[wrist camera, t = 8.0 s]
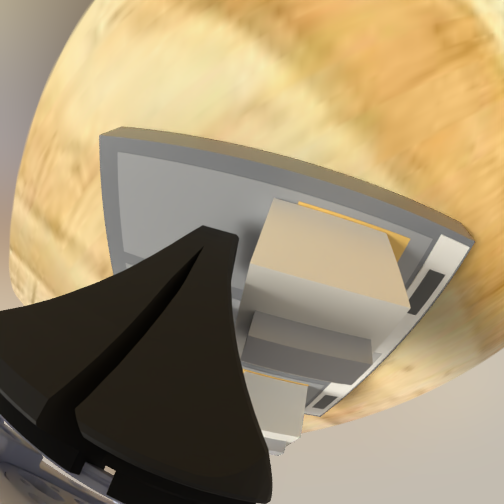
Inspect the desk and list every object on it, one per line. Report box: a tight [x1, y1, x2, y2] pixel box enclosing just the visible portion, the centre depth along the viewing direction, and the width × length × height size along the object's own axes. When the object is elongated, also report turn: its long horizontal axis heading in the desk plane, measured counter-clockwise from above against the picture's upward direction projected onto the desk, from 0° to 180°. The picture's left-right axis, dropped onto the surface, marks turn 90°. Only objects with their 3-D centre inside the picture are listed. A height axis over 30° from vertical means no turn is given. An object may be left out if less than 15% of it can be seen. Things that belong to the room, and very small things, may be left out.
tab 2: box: [234, 198, 411, 385], centre depth 8 cm, size 4×4×4 cm
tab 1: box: [244, 371, 308, 456], centre depth 14 cm, size 4×4×4 cm
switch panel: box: [99, 127, 475, 417], centre depth 14 cm, size 17×15×2 cm
